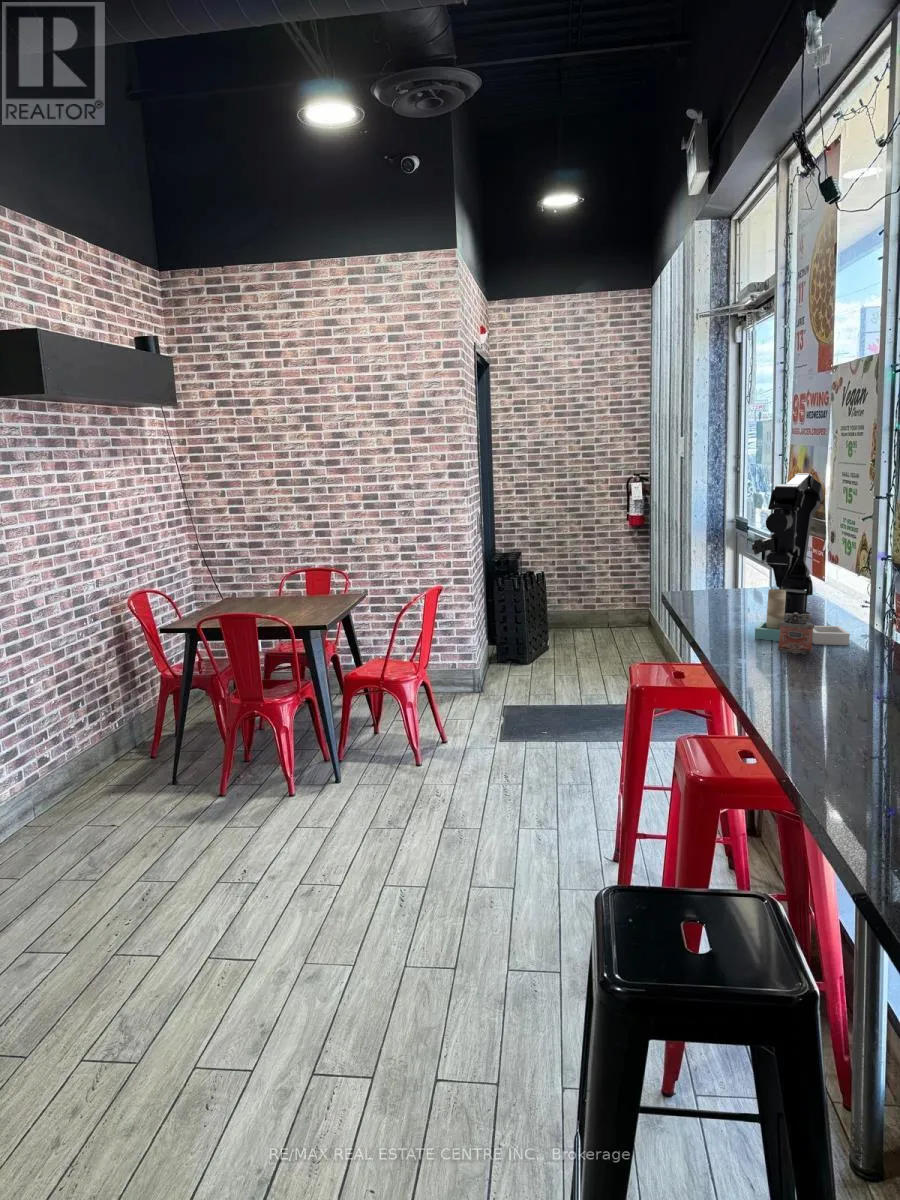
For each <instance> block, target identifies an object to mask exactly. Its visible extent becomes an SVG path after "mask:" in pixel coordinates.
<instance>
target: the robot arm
mask: <svg viewBox="0 0 900 1200" xmlns="http://www.w3.org/2000/svg"><path fill="white" fill-rule="evenodd" d="M823 498H824V489H823V486H822V483H820V482H819V481H818V480H817V479H815V478H814V474H812V473H796V474H795V473H794V475H793V477H792V478H791V480H789V481H788V482H787V483H779V484H776V486H775V487H774V488H773V489H772V492H771V496H770V499H769V503H768V507H767V510H769V511H771V510H772V511H773V512H772V513H770V514H769V515H768V516H767V517H766V519H765V527H766V529H767V530H768V531H769V532H770V533H771V537H769V538H765V539H763V538H758V539H754V542H753V543H751V550H752V551H753V554H754V555H759V554H760V553H763V552H767V551H769V552H768V554H766V556H765V563H766V564H767V565H768V566H769V567H770V568H771V569H772V570H773V575H774V581H775V586H776V587H777V588H778V589H782V590H786V600H785V614H786V613H788V614H793V613H795V612H796V613H798V614H800V615H801V614H809V615H811V612H808V611H807V604H808V597H809V596H812V595H813V594H814V586H813V579H812V576H811V575H810V573H811V571H810V569H809V567H808V565H807V563H806V561H807V554H808V549H809V548H808V546H809V541H810V534H811V527H812V520H813V516H814V515H815V513H816V512H817V511H818V510H819V509H820V505H821V502H822V501H823Z"/></svg>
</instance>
